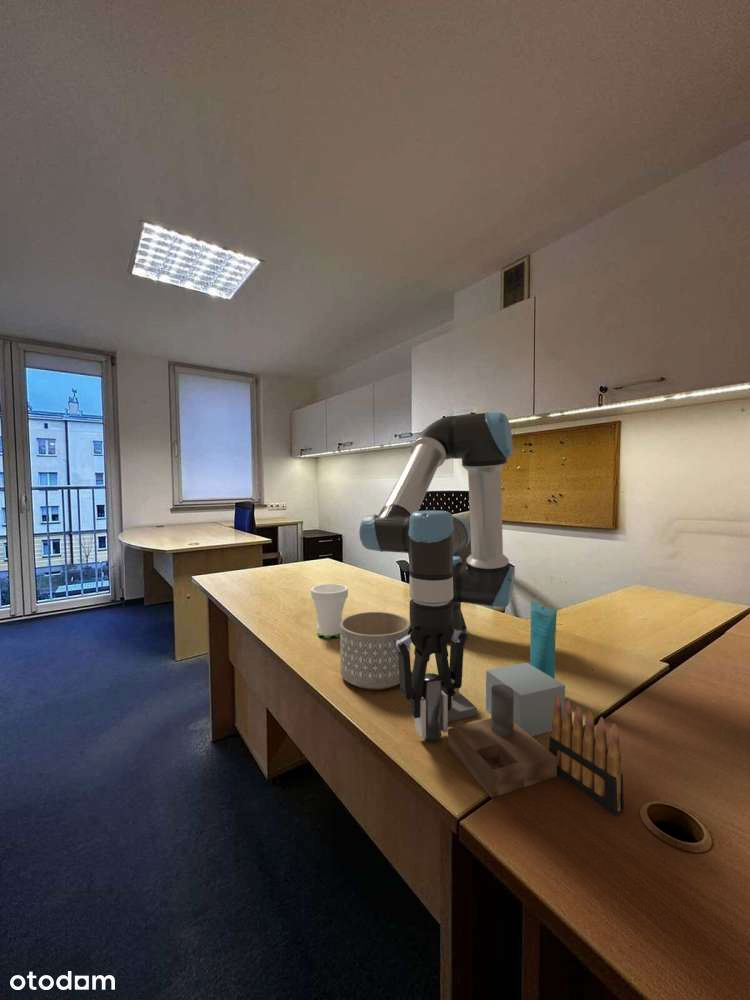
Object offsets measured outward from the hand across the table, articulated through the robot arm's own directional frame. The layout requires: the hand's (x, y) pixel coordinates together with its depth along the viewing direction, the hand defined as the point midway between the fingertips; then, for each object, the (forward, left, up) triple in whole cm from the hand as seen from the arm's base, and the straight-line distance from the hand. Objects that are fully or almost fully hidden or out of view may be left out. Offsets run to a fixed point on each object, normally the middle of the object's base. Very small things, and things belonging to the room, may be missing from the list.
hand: (431, 730), depth 69 cm
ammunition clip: (-16, +18, -2) cm, 24 cm away
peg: (0, 0, -1) cm, 1 cm away
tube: (-30, -5, -2) cm, 30 cm away
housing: (-20, +1, -1) cm, 20 cm away
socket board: (-8, +9, -1) cm, 12 cm away
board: (-8, -7, -1) cm, 11 cm away
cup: (+5, -54, -2) cm, 55 cm away
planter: (+1, -25, -2) cm, 25 cm away
